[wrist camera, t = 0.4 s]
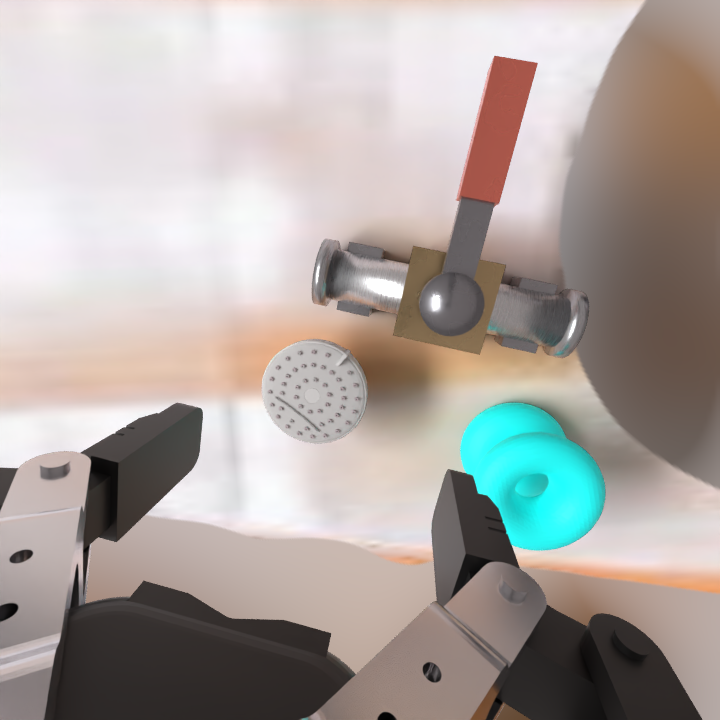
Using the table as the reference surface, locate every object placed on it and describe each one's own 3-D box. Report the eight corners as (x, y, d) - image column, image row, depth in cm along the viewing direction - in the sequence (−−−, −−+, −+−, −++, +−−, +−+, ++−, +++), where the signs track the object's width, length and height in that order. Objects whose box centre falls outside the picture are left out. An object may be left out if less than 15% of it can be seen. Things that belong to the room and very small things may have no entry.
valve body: (334, 234, 36) (315, 225, 29) (569, 283, 35) (612, 286, 27) (321, 307, 38) (300, 316, 31) (544, 356, 36) (579, 378, 29)
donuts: (464, 455, 29) (604, 431, 27) (450, 408, 39) (553, 389, 37) (487, 566, 31) (620, 550, 29) (468, 495, 41) (567, 480, 39)
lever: (469, 337, 29) (474, 342, 27) (412, 324, 29) (413, 328, 27) (541, 81, 25) (553, 63, 23) (474, 70, 25) (480, 51, 23)
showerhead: (393, 387, 31) (320, 469, 34) (395, 365, 38) (335, 435, 41) (303, 314, 31) (236, 403, 33) (322, 306, 38) (266, 380, 40)
